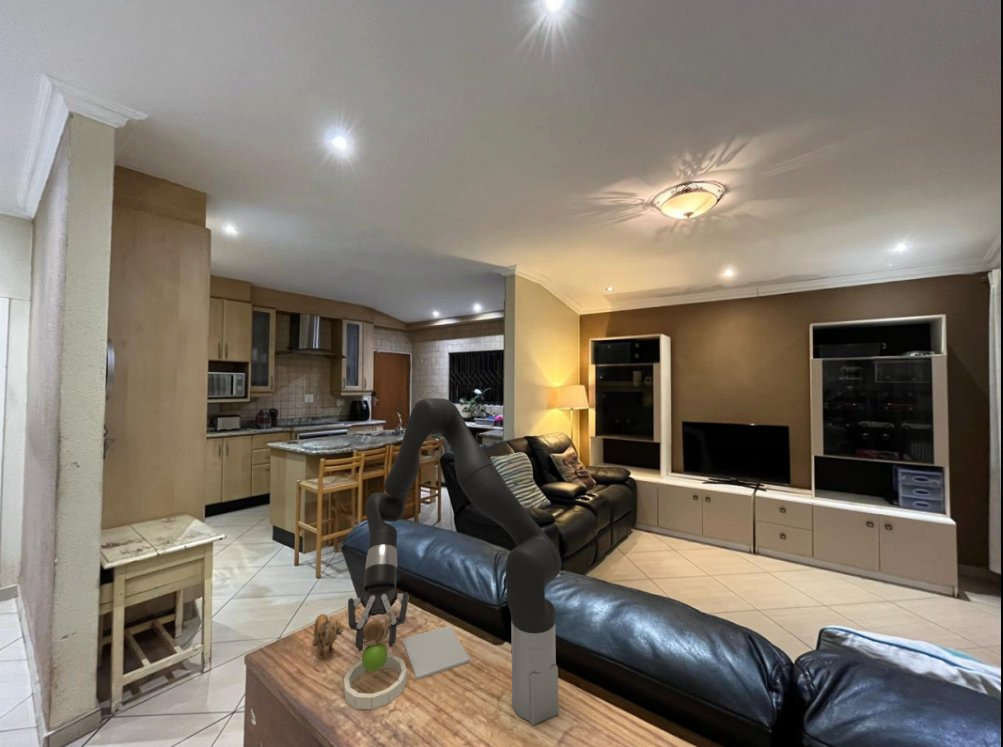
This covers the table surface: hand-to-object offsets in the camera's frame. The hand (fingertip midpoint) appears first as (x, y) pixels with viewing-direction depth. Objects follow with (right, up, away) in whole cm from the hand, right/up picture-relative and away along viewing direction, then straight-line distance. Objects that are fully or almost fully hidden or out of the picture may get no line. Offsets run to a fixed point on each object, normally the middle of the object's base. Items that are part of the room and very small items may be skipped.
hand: (375, 647), depth 87 cm
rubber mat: (+11, -10, +12) cm, 19 cm away
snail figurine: (0, -6, +2) cm, 6 cm away
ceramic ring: (0, -9, +1) cm, 9 cm away
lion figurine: (-17, -10, +14) cm, 25 cm away
